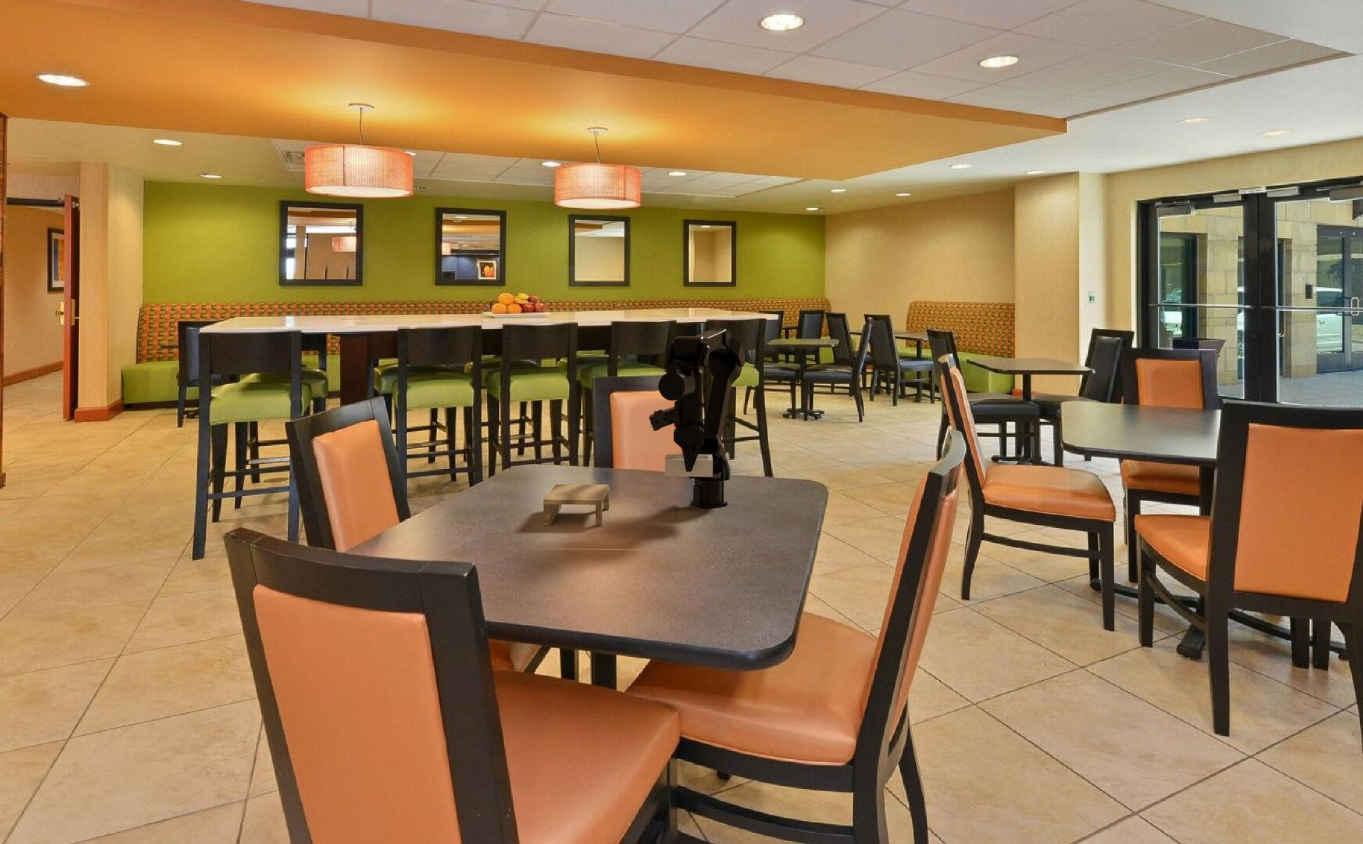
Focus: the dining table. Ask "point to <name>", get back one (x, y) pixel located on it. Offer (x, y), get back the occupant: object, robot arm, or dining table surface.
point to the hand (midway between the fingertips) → (688, 468)
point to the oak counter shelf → (575, 499)
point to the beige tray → (677, 468)
